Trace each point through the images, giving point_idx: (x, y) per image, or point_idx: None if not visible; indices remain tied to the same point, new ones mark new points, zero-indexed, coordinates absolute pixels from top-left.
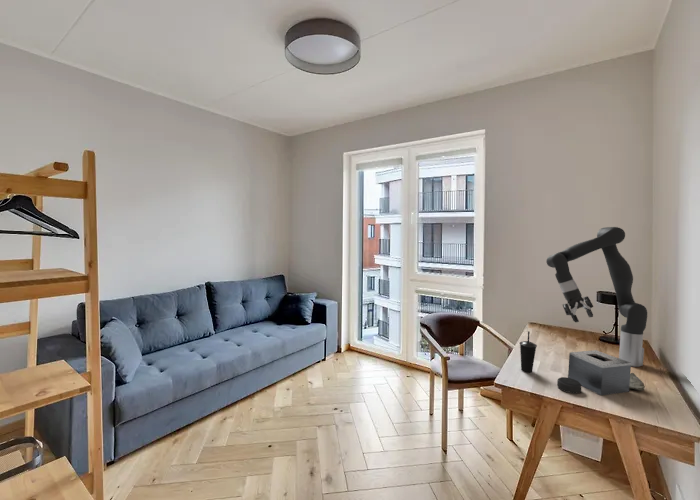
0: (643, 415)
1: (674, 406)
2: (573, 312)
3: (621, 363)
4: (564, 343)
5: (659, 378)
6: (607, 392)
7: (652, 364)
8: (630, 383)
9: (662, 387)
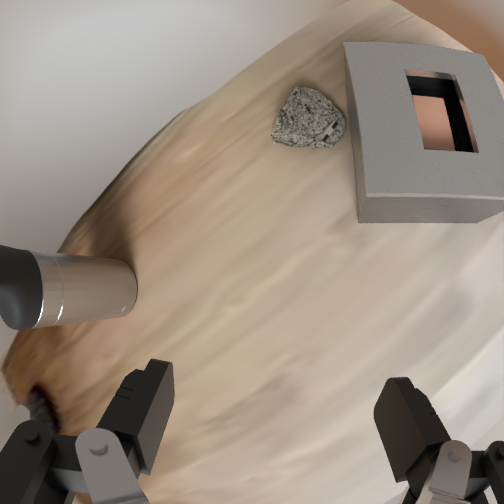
0: (420, 33)
1: (302, 42)
2: (464, 471)
3: (393, 44)
4: (163, 477)
5: (147, 176)
6: None
7: None
8: (315, 115)
9: (207, 121)
